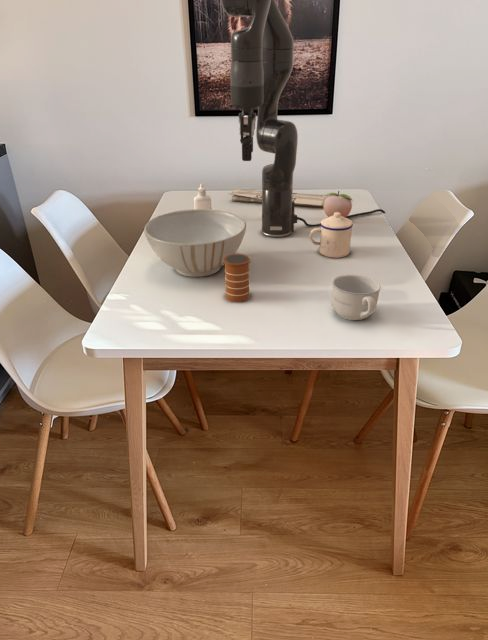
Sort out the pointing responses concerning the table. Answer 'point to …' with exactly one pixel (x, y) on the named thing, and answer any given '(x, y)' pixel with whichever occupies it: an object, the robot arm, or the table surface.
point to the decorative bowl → (195, 239)
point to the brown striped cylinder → (237, 277)
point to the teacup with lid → (334, 236)
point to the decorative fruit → (337, 204)
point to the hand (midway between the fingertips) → (247, 156)
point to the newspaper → (296, 197)
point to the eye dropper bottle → (202, 199)
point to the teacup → (354, 296)
